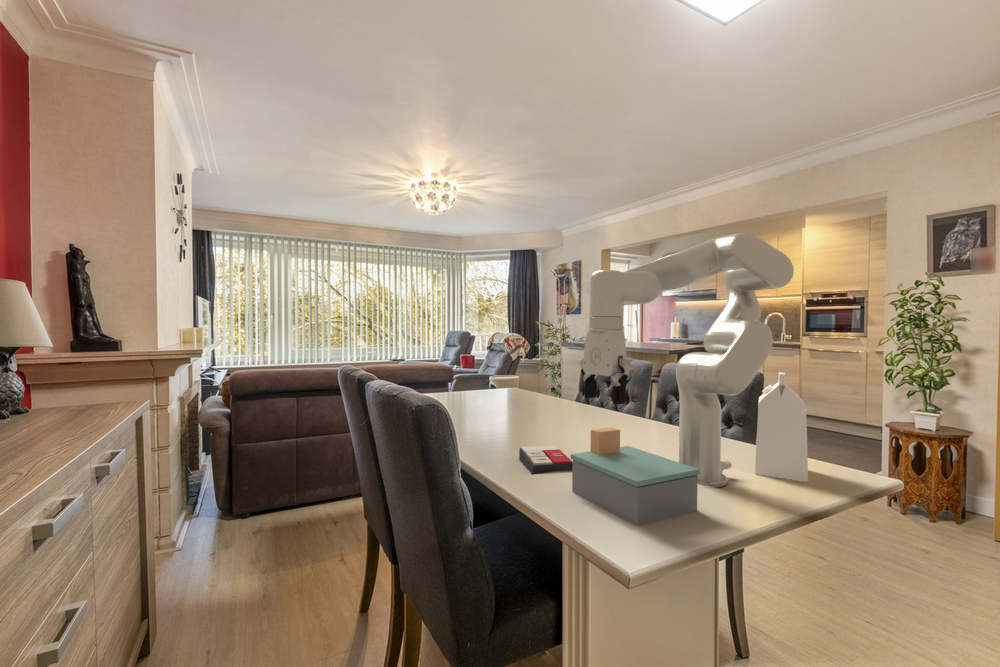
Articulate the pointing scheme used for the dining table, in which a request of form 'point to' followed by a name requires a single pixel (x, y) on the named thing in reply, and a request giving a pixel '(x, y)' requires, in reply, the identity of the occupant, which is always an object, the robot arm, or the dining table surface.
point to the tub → (635, 495)
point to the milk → (781, 433)
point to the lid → (629, 461)
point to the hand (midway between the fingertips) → (604, 400)
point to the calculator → (544, 459)
